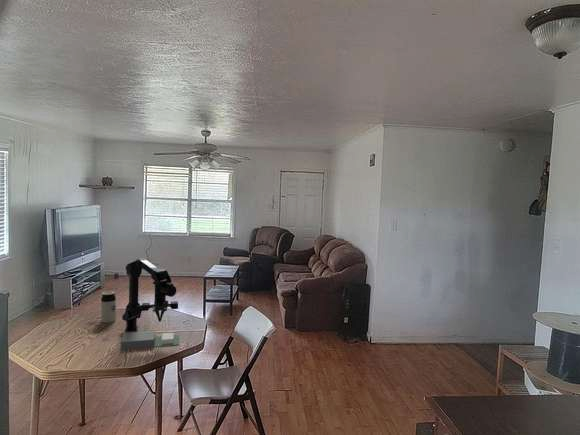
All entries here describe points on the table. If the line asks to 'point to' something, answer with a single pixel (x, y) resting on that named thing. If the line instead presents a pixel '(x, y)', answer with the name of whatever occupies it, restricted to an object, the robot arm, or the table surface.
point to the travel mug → (108, 307)
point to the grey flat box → (138, 340)
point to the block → (167, 338)
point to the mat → (159, 344)
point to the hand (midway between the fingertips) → (159, 321)
